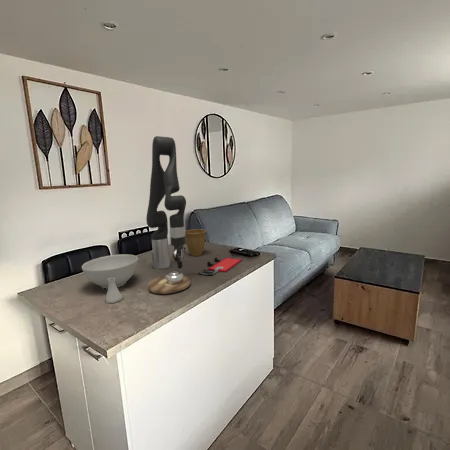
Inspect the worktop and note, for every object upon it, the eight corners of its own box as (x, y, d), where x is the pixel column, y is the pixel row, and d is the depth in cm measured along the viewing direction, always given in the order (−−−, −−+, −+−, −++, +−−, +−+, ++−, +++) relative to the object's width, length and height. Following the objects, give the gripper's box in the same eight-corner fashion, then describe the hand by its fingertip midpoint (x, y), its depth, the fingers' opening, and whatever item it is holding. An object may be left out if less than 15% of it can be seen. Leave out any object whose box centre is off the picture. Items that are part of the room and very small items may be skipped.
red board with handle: (194, 274, 158) (219, 278, 151) (194, 269, 157) (219, 272, 151) (220, 259, 184) (242, 261, 177) (220, 254, 184) (242, 257, 177)
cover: (164, 285, 138) (163, 275, 137) (169, 278, 146) (168, 270, 145) (181, 284, 137) (180, 275, 136) (184, 278, 145) (184, 269, 144)
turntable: (141, 294, 135) (140, 289, 134) (158, 278, 154) (158, 274, 153) (182, 295, 131) (182, 290, 130) (195, 279, 150) (194, 274, 150)
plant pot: (206, 257, 188) (205, 232, 185) (183, 258, 189) (181, 234, 186) (208, 250, 203) (206, 228, 200) (187, 252, 203) (185, 229, 200)
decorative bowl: (72, 292, 143) (68, 268, 141) (112, 273, 167) (109, 253, 165) (116, 297, 133) (112, 272, 131) (151, 277, 157) (148, 255, 155)
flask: (112, 305, 126) (109, 283, 124) (102, 301, 130) (99, 280, 128) (126, 298, 132) (123, 277, 130) (115, 295, 136) (113, 275, 134)
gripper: (175, 232, 155) (177, 263, 158) (165, 238, 142) (168, 272, 145) (189, 232, 153) (191, 264, 156) (180, 238, 140) (182, 272, 144)
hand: (180, 268), depth 151 cm, fingers closed
